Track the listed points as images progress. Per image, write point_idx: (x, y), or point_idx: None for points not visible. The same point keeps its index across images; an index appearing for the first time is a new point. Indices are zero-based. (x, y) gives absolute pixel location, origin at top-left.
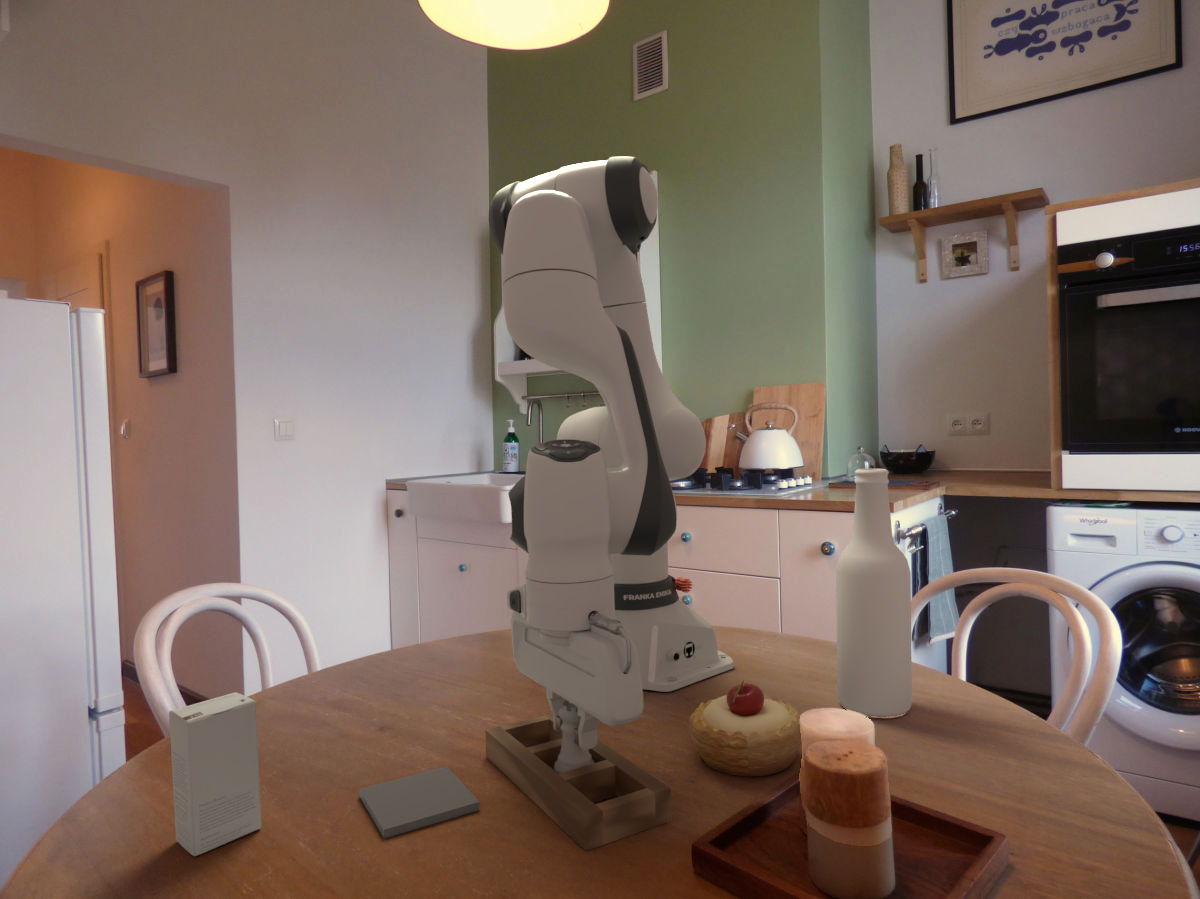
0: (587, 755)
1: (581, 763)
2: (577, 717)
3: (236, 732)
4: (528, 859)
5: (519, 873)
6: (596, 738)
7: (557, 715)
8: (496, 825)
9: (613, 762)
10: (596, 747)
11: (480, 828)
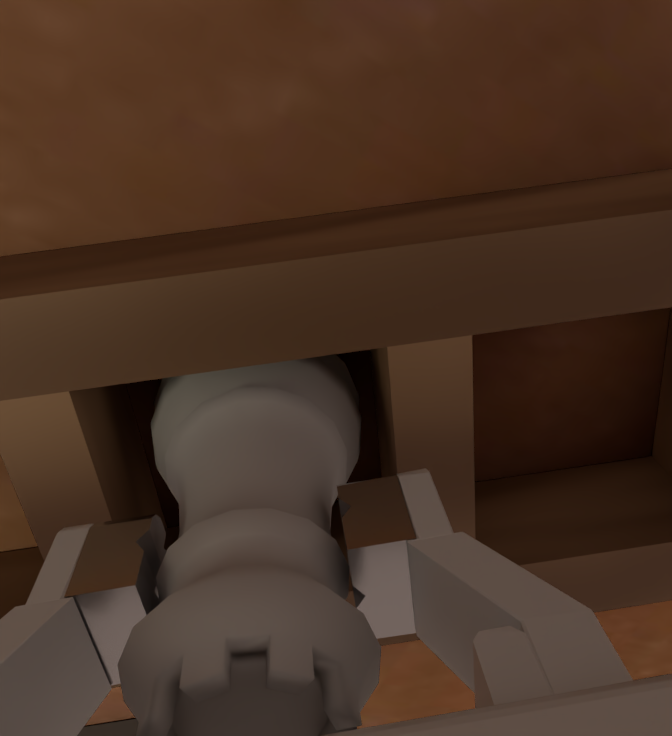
0: (318, 435)
1: (343, 461)
2: (375, 683)
3: None
4: (615, 632)
5: (654, 658)
6: (437, 492)
7: (104, 679)
8: (403, 668)
9: (436, 328)
10: (208, 341)
11: (396, 701)
